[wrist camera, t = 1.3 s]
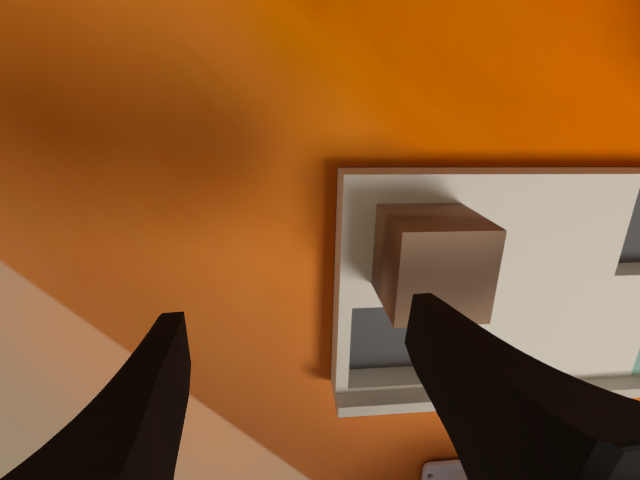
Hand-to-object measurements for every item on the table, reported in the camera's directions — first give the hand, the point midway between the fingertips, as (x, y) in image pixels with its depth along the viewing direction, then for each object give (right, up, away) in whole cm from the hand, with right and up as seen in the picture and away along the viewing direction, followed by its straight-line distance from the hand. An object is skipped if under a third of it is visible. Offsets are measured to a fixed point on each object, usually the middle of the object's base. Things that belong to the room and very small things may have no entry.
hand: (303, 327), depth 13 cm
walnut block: (+6, +3, +9) cm, 11 cm away
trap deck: (+14, 0, +13) cm, 19 cm away
